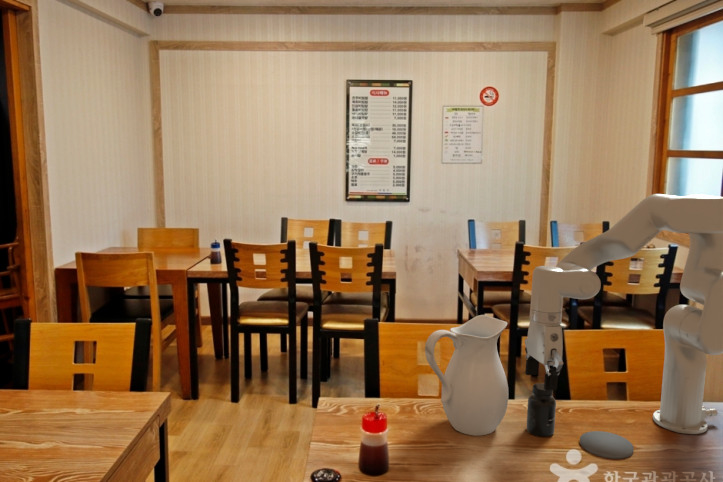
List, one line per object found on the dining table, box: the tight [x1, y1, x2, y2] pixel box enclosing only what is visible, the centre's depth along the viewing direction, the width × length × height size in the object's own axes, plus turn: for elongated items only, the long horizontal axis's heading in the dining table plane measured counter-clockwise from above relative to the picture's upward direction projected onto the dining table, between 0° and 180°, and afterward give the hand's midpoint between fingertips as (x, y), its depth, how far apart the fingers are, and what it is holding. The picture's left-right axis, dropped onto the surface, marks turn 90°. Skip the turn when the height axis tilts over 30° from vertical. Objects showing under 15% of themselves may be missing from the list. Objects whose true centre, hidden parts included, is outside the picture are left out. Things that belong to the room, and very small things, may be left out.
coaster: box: [579, 430, 634, 460], centre depth 141 cm, size 12×12×1 cm
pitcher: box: [424, 314, 509, 437], centre depth 148 cm, size 24×17×28 cm
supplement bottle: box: [526, 382, 557, 438], centre depth 148 cm, size 7×7×12 cm
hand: (540, 381), depth 147 cm, fingers open, 9 cm apart
